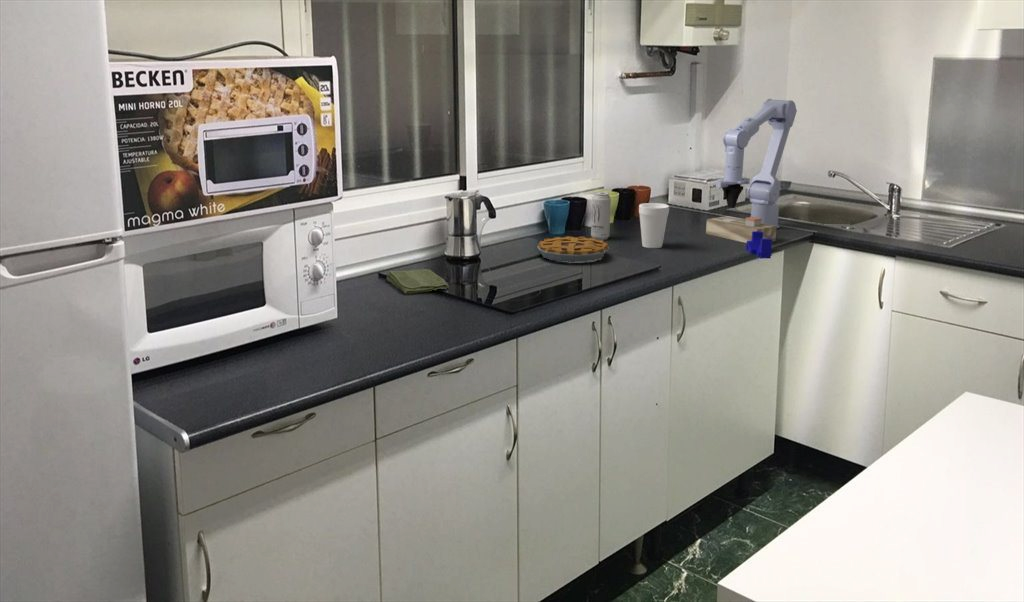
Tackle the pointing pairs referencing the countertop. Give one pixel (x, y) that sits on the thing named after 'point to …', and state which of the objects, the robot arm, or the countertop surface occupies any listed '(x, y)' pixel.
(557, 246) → the pie
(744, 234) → the button block
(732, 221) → the matte grey cube
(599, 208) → the energy drink can
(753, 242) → the blue angular block
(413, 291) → the washcloth
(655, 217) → the foam cup
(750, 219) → the orange block
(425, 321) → the countertop surface
